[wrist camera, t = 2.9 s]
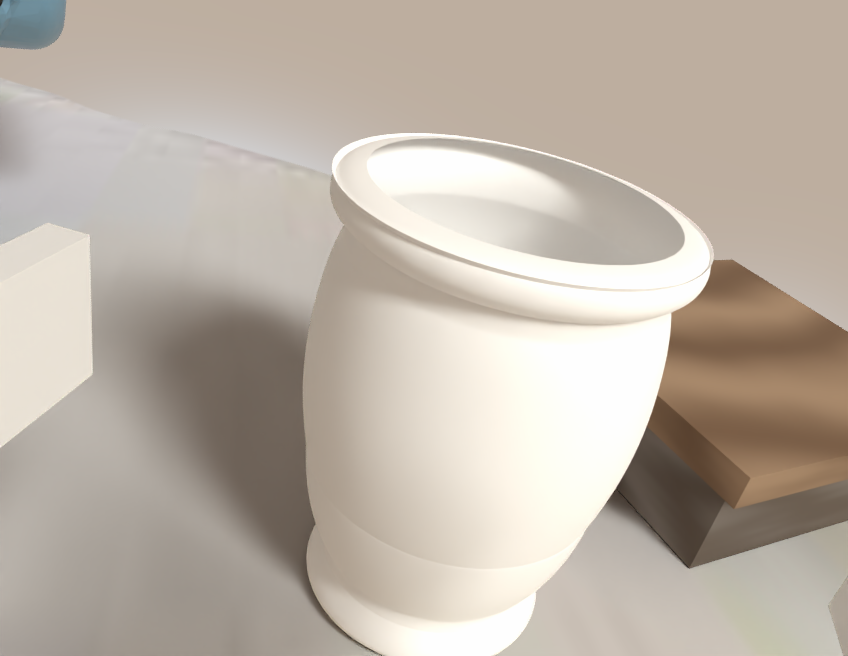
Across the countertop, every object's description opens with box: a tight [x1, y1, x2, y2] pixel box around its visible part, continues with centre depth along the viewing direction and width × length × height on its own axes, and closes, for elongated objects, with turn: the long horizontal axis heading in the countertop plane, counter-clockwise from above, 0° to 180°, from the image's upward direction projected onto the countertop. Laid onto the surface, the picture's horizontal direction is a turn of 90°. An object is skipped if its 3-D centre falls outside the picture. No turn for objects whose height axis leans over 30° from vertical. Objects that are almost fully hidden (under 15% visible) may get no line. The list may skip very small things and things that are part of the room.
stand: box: [616, 260, 848, 568], centre depth 38 cm, size 16×16×6 cm
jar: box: [303, 133, 714, 656], centre depth 24 cm, size 11×10×15 cm
